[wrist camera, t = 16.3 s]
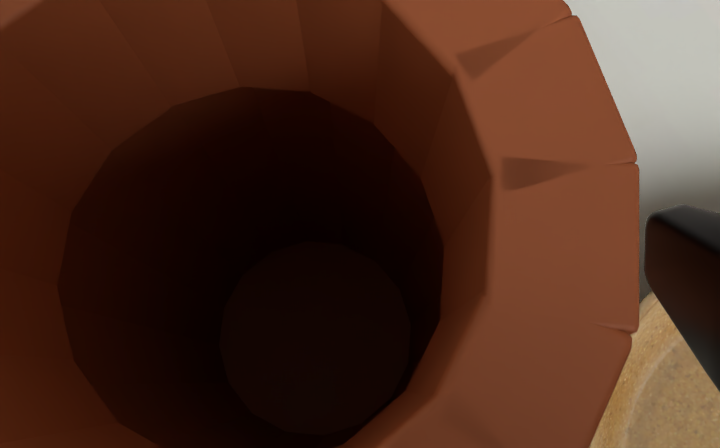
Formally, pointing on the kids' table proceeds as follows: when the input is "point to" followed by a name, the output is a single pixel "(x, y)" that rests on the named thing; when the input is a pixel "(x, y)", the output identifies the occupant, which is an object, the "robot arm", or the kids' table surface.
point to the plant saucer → (660, 392)
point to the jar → (310, 225)
